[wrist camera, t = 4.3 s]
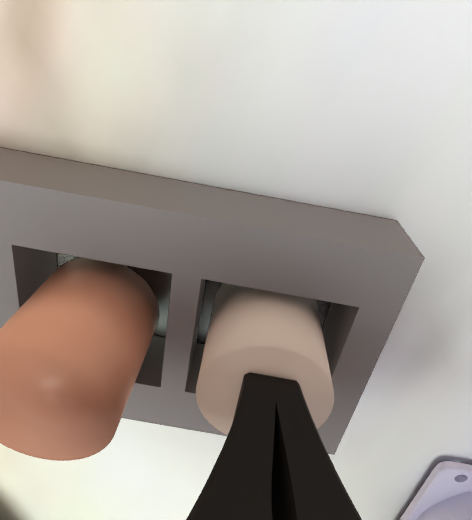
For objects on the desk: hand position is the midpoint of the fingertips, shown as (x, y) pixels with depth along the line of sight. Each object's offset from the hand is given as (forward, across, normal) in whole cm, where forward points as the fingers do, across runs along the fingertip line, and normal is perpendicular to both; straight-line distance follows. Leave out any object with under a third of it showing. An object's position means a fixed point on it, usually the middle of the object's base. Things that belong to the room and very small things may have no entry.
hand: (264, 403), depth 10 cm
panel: (+4, +5, 0) cm, 7 cm away
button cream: (+4, 0, 0) cm, 4 cm away
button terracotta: (+3, +5, 0) cm, 6 cm away
